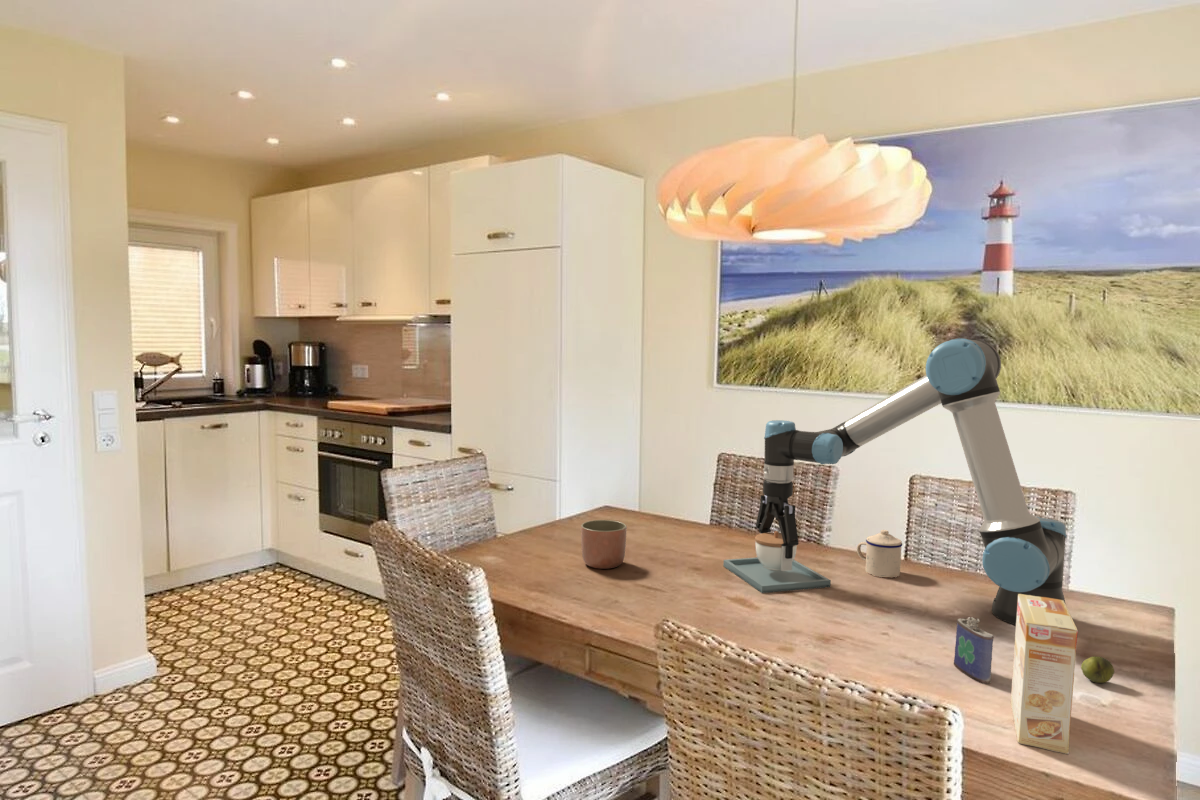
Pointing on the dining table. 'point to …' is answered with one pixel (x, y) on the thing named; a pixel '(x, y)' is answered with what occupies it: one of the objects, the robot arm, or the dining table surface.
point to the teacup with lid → (882, 554)
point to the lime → (1097, 669)
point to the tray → (776, 576)
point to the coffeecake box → (1043, 672)
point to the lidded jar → (770, 550)
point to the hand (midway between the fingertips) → (775, 563)
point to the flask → (973, 650)
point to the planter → (603, 543)
